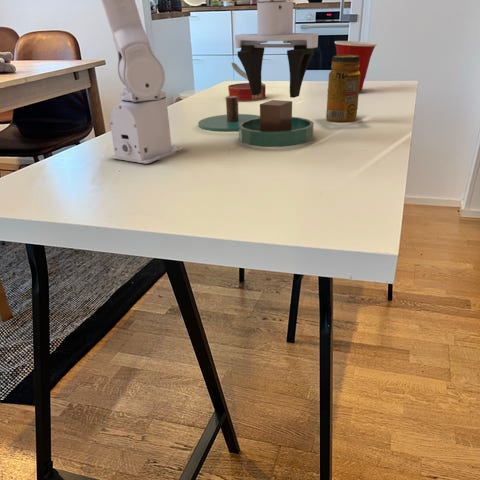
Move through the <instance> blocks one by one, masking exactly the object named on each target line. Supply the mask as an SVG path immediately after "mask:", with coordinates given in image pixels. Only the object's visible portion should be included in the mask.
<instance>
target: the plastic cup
mask: <svg viewBox="0 0 480 480" xmlns="http://www.w3.org/2000/svg"><path fill="white" fill-rule="evenodd" d="M334 44H335V52H336V56H337V55H357V56H359V57H360V60H359V72H360V85H359V94H360V93H362V90H363V88H364V83H365V79H366V77H367V73H368V69H369V65H370V62H371V57H372V55H373V52H374V49H375V48H376V46H377V45H378V44H377V43H375V42H368V41H354V40H335V41H334Z"/></svg>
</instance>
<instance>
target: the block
mask: <svg viewBox="0 0 480 480" xmlns="http://www.w3.org/2000/svg"><path fill="white" fill-rule="evenodd" d="M259 116H260V131H264V132H280V131H292V117H293V101H292V100H281V99H280V100H279V99H271V100H269V101H265V102H263V103H259Z"/></svg>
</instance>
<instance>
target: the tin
mask: <svg viewBox="0 0 480 480" xmlns="http://www.w3.org/2000/svg"><path fill="white" fill-rule="evenodd" d="M314 124H315V122H314V121H312V120H310V119H308V118H303V117H297V116H292V131H280V132H264V131H260V118H255V119H250V120H247V121H244V122H241V123H240V125H239V131H238V140H239V141H240V142H241V143H242V144H246V145H249V146H255V147H261V148H262V147H263V148H282V147H293V146H298V145H302V144H303V145H304V144H306V143H308V142H310V141H313V139H314V127H315V125H314Z"/></svg>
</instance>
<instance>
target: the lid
mask: <svg viewBox="0 0 480 480" xmlns="http://www.w3.org/2000/svg"><path fill="white" fill-rule="evenodd" d="M225 105H226V106H225V107H226V114H219V115H213V116H208V117H205V118H202V119H200V120H199V121H198V123H197V125H198V127H199V128H201V129H202V130H206V131H212V132H213V131H214V132H239V125H240V123H241V122H244V121H247V120H250V119H255V118H260V115H258V114H251V113H250V114H249V113H248V114H246V113H239V101H238V96H229V95H228V96H225Z"/></svg>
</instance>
